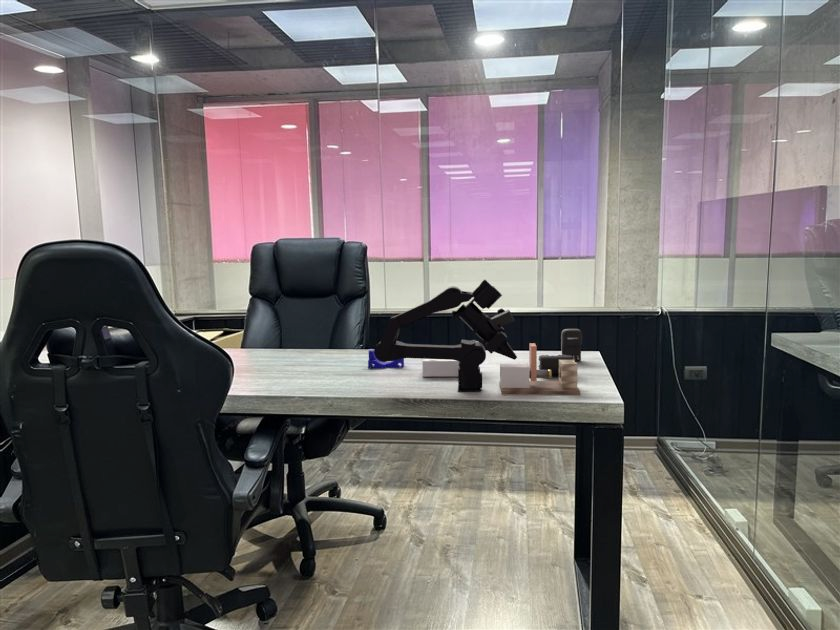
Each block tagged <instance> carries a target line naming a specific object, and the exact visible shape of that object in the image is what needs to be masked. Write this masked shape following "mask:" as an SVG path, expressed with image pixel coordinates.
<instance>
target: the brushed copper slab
mask: <svg viewBox="0 0 840 630" xmlns="http://www.w3.org/2000/svg"><path fill="white" fill-rule="evenodd" d="M537 349H538V348H537V345H536V343H535V342H534V343H531V342H529V349H528V350H529V363H528V365H529V380H530V381H538V379H552V378H553V376H552V371H551V370H540V369H537V367H538V364H537V363H538V362H537V360H538V359H537V357H538V356H537V352H538V351H537Z"/></svg>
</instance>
